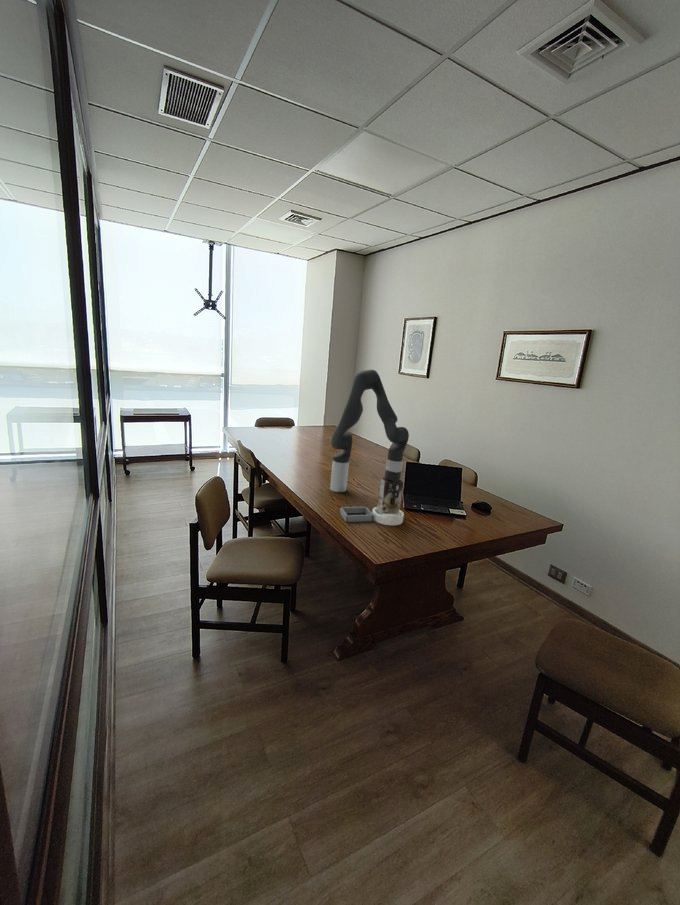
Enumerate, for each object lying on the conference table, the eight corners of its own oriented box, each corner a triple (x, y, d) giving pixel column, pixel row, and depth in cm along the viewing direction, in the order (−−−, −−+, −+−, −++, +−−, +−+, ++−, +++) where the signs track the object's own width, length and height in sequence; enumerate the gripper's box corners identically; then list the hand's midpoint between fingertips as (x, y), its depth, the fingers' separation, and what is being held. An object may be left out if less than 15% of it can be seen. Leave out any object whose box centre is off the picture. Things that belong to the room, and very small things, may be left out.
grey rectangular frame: (339, 512, 196) (340, 507, 195) (365, 512, 200) (366, 506, 199) (345, 522, 186) (346, 516, 186) (373, 521, 190) (373, 515, 189)
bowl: (367, 512, 199) (368, 506, 199) (395, 512, 204) (396, 505, 203) (378, 525, 186) (379, 518, 185) (407, 524, 190) (408, 518, 189)
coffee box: (380, 514, 190) (385, 481, 186) (376, 508, 196) (380, 477, 192) (399, 514, 192) (403, 482, 188) (394, 508, 198) (398, 478, 194)
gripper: (380, 464, 194) (376, 496, 198) (392, 473, 181) (387, 507, 185) (394, 464, 196) (390, 496, 200) (407, 473, 183) (402, 507, 187)
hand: (389, 501), depth 193 cm, fingers closed on coffee box, 6 cm apart
